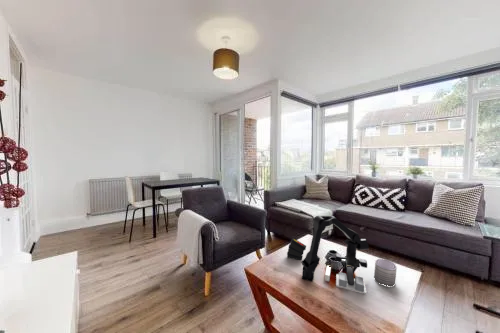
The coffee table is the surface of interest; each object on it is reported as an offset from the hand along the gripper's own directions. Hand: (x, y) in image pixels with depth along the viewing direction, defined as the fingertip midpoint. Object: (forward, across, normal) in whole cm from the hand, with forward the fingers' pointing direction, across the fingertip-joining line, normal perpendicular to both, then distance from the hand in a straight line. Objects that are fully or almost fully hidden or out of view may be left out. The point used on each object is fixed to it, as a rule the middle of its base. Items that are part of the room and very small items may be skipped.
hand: (349, 272), depth 134 cm
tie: (+2, -13, -8) cm, 15 cm away
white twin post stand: (+2, 0, -11) cm, 11 cm away
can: (+2, +20, +2) cm, 20 cm away
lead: (0, 0, -5) cm, 5 cm away
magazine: (+2, -36, +4) cm, 36 cm away
